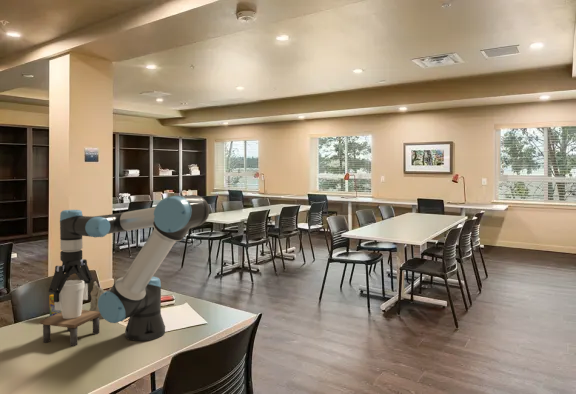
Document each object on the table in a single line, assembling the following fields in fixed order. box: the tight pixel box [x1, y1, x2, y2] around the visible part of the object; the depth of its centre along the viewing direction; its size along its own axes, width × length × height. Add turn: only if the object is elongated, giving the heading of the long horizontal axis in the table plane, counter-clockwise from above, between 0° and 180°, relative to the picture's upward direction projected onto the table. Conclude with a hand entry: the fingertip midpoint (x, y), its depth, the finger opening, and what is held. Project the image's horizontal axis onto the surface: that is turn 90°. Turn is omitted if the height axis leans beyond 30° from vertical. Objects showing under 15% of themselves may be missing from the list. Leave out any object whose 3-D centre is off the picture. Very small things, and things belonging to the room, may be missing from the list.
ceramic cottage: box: [88, 281, 112, 320], centre depth 190 cm, size 16×16×15 cm
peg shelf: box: [39, 309, 101, 347], centre depth 161 cm, size 15×15×8 cm
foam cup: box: [57, 279, 85, 319], centre depth 160 cm, size 10×9×13 cm
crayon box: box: [48, 293, 62, 317], centre depth 182 cm, size 7×3×12 cm, turn 73°
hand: (71, 304), depth 160 cm, fingers open, 13 cm apart
